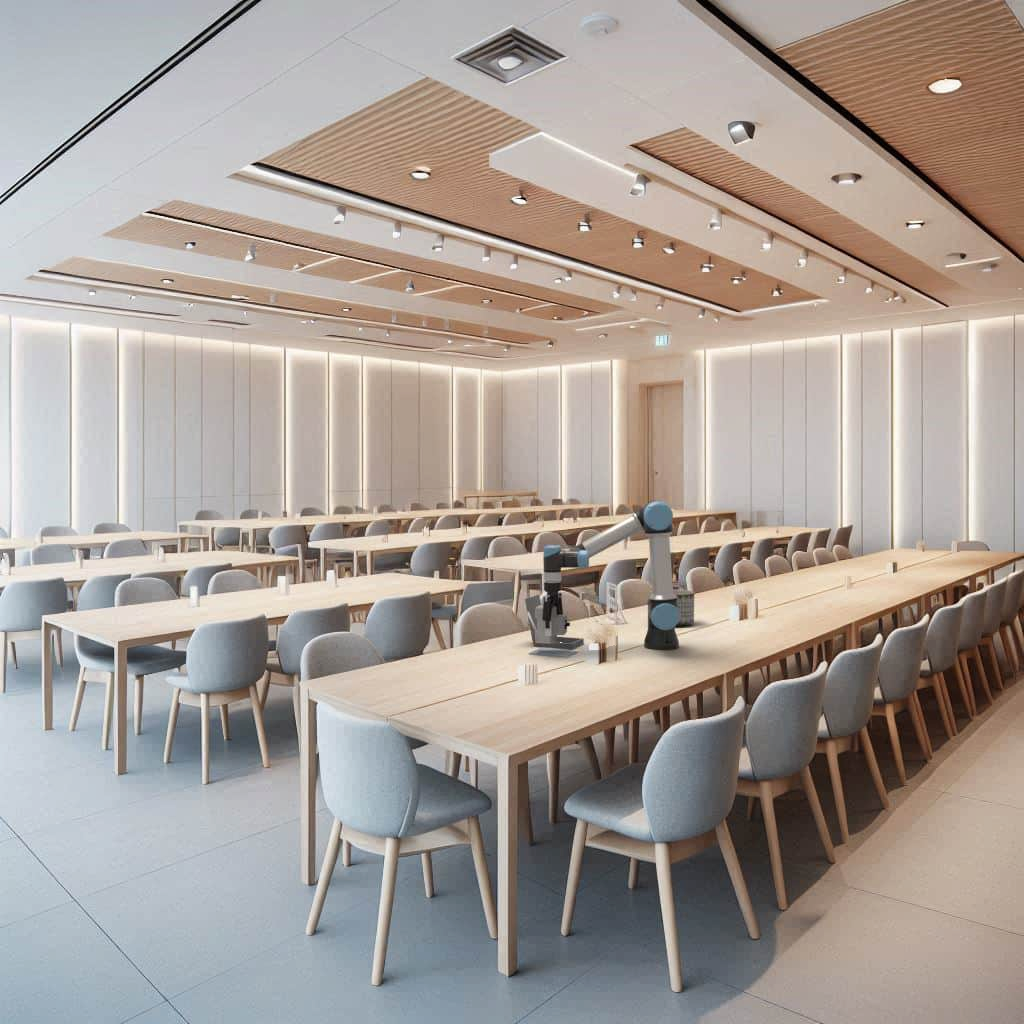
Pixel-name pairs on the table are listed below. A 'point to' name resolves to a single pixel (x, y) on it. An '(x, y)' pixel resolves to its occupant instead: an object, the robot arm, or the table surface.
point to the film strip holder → (609, 605)
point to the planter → (685, 606)
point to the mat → (553, 652)
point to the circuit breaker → (557, 626)
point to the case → (531, 605)
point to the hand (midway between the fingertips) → (553, 634)
